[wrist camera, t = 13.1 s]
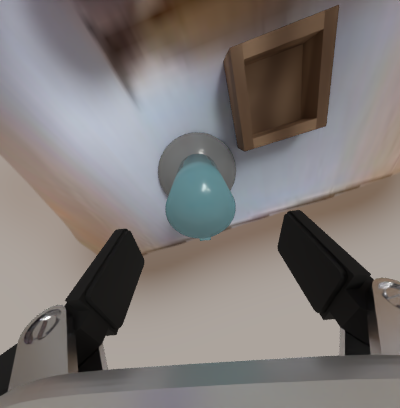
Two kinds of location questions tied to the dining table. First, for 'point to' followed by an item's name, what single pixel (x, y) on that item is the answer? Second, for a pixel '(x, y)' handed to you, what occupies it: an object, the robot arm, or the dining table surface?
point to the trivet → (195, 145)
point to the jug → (199, 199)
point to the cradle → (282, 80)
